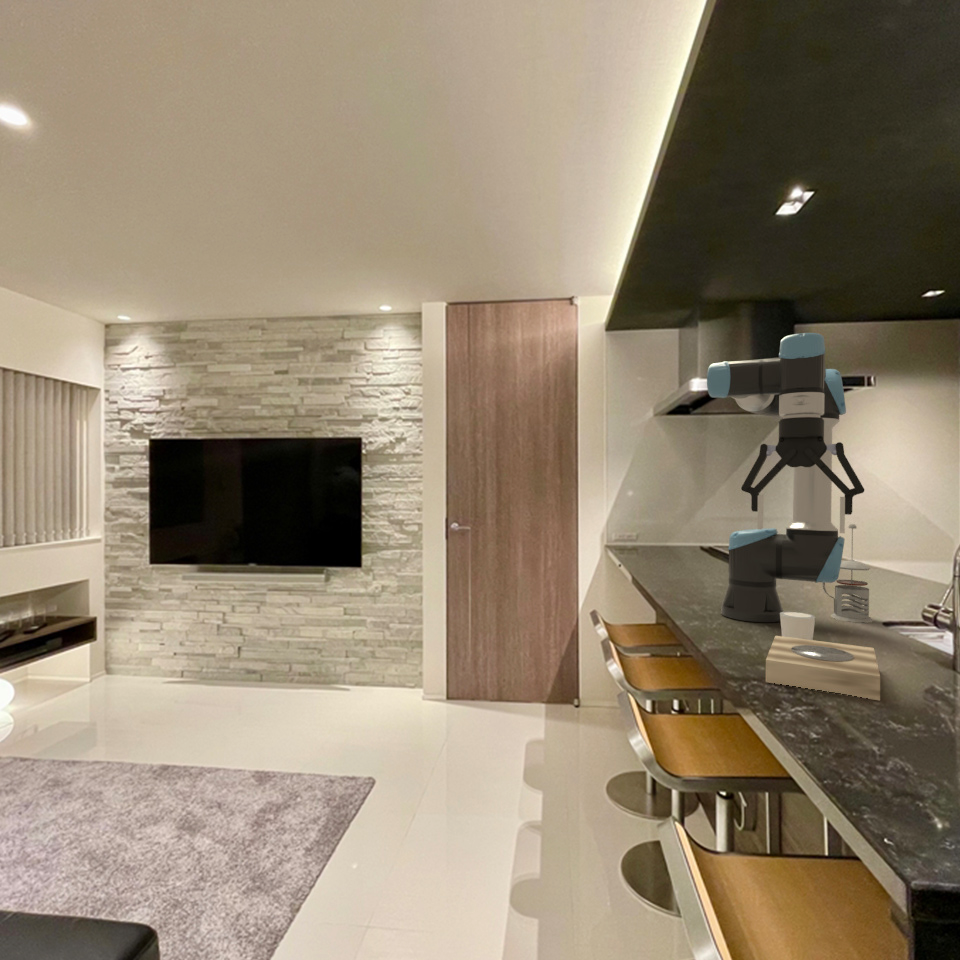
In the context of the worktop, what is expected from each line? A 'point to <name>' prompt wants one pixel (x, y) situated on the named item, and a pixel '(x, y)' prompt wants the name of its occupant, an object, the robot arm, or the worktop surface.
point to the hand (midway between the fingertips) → (799, 531)
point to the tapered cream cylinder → (797, 625)
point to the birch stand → (824, 667)
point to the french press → (851, 594)
